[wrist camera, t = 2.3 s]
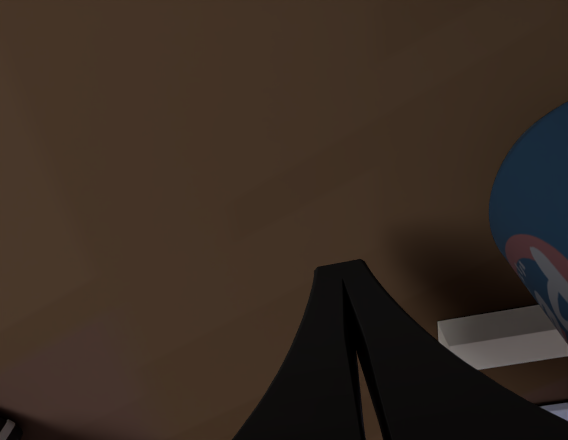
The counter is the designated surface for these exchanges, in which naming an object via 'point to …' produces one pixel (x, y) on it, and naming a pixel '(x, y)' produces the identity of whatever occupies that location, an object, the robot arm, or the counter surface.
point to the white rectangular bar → (503, 337)
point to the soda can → (536, 213)
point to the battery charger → (9, 430)
